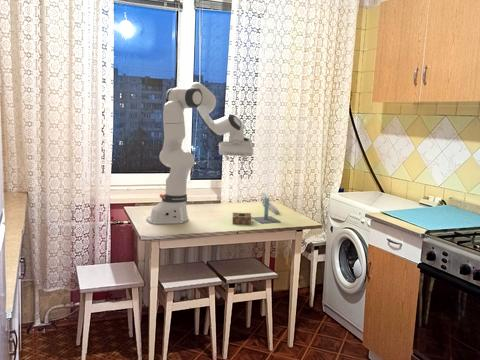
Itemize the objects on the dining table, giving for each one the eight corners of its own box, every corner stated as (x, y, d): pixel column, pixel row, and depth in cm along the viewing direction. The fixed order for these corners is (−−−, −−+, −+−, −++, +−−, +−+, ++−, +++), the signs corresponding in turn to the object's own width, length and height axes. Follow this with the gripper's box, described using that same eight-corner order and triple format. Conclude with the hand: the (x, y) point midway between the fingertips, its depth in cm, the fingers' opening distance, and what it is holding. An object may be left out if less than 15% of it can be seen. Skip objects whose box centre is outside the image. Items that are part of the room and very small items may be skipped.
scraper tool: (264, 219, 259) (265, 198, 257) (263, 218, 262) (265, 197, 260) (267, 219, 259) (269, 198, 257) (267, 218, 262) (268, 197, 260)
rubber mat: (261, 223, 252) (261, 222, 252) (251, 218, 263) (251, 217, 263) (280, 222, 257) (280, 221, 257) (270, 217, 268) (270, 216, 268)
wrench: (275, 219, 275) (259, 203, 302) (278, 219, 275) (262, 203, 303) (276, 207, 272) (260, 191, 300) (279, 206, 273) (263, 191, 301)
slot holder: (232, 224, 249) (232, 216, 248) (232, 219, 259) (232, 212, 258) (251, 224, 249) (251, 217, 249) (250, 220, 259) (250, 213, 259)
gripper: (218, 137, 276) (217, 156, 268) (253, 139, 277) (253, 157, 269) (218, 144, 282) (217, 162, 273) (252, 146, 282) (252, 164, 274)
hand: (235, 160), depth 271 cm, fingers open, 8 cm apart
